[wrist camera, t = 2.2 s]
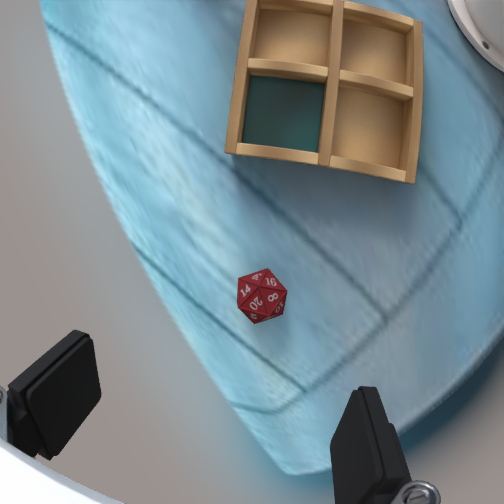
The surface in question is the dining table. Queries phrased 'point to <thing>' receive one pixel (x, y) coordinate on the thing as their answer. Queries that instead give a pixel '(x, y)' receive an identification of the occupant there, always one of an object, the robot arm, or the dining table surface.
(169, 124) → the dining table surface
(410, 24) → the wooden compartment tray
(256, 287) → the dice
